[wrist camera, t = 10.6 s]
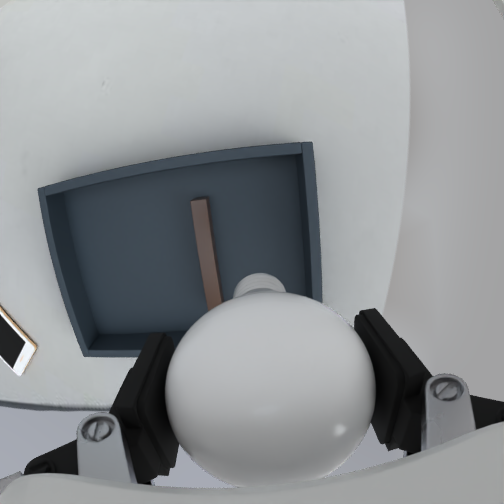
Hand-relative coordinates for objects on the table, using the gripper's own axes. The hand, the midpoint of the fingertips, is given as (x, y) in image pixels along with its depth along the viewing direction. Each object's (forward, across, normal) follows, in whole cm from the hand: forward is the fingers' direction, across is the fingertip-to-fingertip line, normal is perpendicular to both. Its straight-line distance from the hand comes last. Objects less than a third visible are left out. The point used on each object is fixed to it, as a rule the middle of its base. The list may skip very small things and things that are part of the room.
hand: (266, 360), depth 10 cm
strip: (+16, +4, 0) cm, 16 cm away
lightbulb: (+6, 0, 0) cm, 6 cm away
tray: (+16, +6, 0) cm, 17 cm away
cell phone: (+16, +34, +5) cm, 38 cm away
